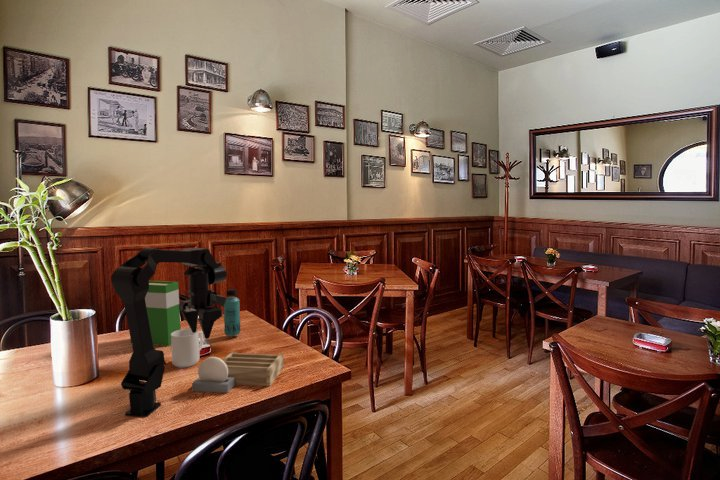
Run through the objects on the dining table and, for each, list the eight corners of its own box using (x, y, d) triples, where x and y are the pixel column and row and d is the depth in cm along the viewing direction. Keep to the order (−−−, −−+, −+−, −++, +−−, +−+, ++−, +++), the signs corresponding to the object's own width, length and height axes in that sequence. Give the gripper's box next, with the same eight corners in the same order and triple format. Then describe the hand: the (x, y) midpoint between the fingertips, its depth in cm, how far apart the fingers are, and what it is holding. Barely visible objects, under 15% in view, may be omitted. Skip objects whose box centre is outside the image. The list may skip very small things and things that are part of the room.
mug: (184, 370, 137) (183, 338, 136) (166, 365, 141) (164, 334, 140) (212, 358, 148) (210, 328, 146) (194, 354, 151) (193, 324, 150)
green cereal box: (130, 342, 164) (126, 283, 162) (144, 336, 171) (141, 280, 169) (168, 346, 160) (165, 285, 158) (181, 339, 167) (178, 281, 165)
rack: (270, 386, 125) (269, 370, 124) (213, 383, 127) (213, 367, 126) (283, 367, 139) (283, 353, 138) (232, 365, 141) (232, 351, 140)
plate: (227, 387, 123) (226, 358, 122) (198, 386, 124) (197, 357, 123) (229, 385, 124) (227, 357, 123) (200, 384, 125) (199, 356, 124)
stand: (227, 392, 121) (227, 384, 120) (192, 391, 122) (192, 383, 122) (234, 385, 126) (234, 377, 125) (200, 383, 127) (200, 375, 127)
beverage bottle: (223, 335, 172) (221, 288, 170) (239, 333, 175) (238, 287, 173) (225, 340, 166) (223, 292, 164) (242, 338, 169) (240, 290, 167)
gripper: (237, 287, 129) (238, 336, 131) (209, 280, 142) (211, 324, 143) (203, 293, 121) (204, 344, 123) (177, 284, 134) (178, 331, 135)
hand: (200, 335), depth 131 cm, fingers open, 9 cm apart
